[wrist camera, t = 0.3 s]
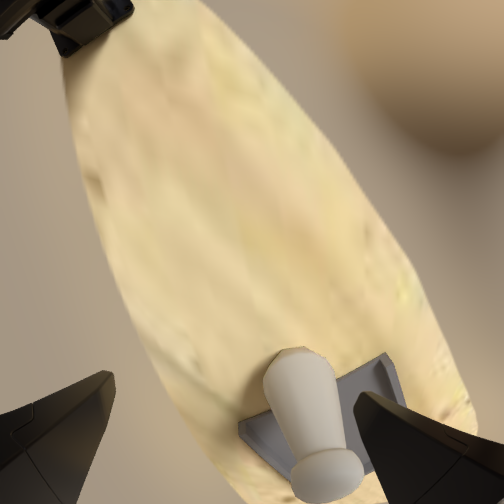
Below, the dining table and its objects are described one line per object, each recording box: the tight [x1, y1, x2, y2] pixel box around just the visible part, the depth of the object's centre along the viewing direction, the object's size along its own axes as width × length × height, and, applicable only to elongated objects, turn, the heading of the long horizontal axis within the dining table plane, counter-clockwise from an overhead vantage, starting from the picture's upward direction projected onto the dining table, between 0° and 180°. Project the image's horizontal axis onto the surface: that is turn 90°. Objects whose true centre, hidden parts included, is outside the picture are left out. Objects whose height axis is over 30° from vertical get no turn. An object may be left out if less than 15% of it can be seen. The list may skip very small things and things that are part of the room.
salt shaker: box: [263, 346, 364, 504], centre depth 19 cm, size 6×6×13 cm
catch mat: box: [238, 352, 407, 482], centre depth 28 cm, size 19×16×2 cm
